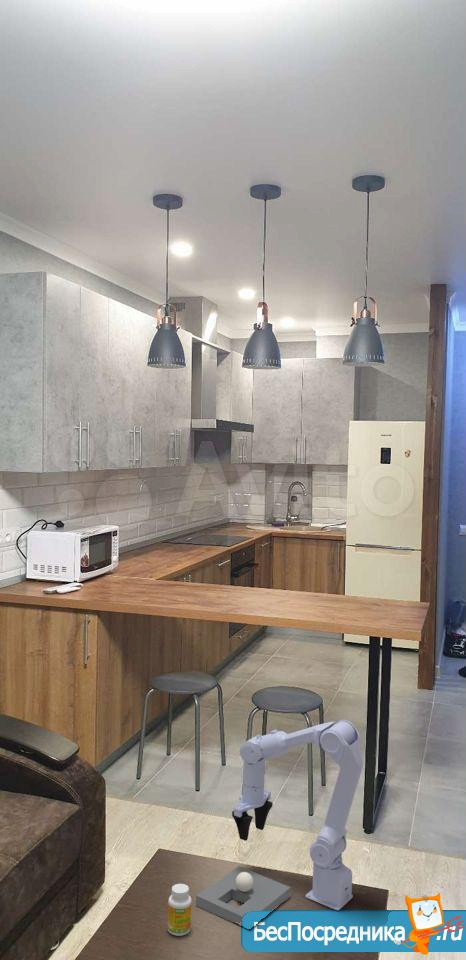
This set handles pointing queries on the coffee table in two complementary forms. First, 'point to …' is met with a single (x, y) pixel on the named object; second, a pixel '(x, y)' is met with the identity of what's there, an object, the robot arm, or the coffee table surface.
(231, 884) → the plate
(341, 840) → the robot arm
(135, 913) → the coffee table surface
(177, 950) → the coffee table surface
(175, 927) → the supplement bottle
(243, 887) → the ball
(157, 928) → the coffee table surface
